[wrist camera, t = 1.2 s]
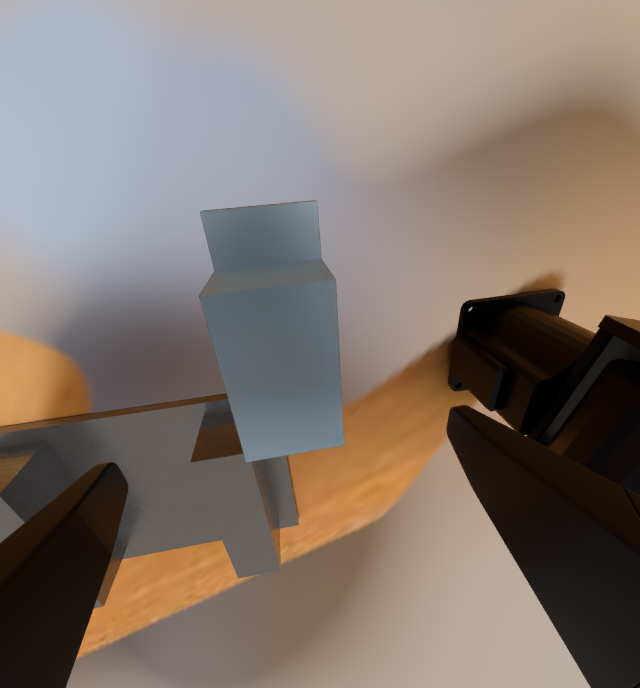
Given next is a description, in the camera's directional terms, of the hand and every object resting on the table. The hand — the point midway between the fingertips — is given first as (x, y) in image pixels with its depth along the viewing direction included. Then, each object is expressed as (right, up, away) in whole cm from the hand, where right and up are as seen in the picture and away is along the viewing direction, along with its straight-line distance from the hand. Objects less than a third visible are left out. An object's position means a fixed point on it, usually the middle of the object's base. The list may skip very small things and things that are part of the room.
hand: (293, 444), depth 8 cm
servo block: (-2, +5, +8) cm, 10 cm away
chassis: (-11, -7, +13) cm, 18 cm away
